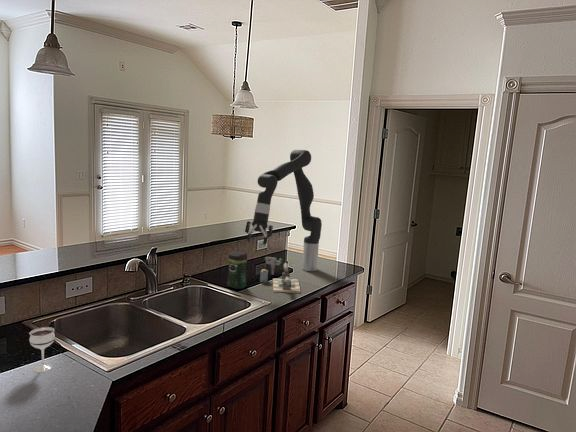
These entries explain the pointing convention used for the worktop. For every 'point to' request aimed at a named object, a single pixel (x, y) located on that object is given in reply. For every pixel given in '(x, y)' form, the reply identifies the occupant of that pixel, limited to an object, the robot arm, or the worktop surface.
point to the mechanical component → (272, 262)
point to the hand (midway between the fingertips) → (256, 243)
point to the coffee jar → (237, 270)
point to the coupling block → (264, 276)
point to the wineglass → (42, 344)
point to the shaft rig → (286, 283)
